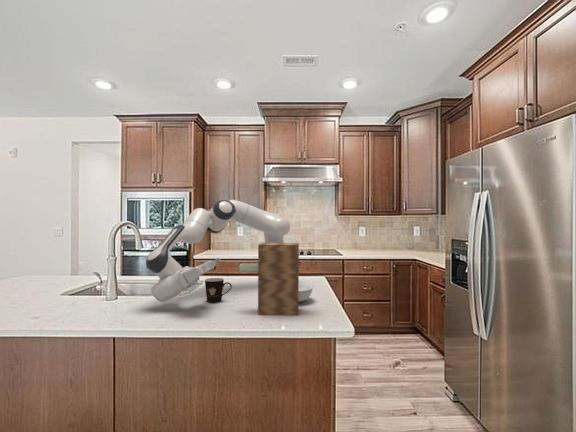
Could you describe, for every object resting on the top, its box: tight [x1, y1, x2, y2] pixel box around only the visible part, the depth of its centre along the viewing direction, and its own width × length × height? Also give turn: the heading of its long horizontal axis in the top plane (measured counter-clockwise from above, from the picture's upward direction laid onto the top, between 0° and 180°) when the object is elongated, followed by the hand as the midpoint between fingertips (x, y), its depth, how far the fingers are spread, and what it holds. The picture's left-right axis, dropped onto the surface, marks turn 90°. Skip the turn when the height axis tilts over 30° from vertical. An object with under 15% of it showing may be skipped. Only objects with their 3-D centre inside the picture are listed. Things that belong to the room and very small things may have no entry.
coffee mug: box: [204, 277, 233, 304], centre depth 162 cm, size 12×9×10 cm
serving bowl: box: [298, 282, 313, 303], centre depth 165 cm, size 21×21×7 cm
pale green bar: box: [239, 263, 258, 273], centre depth 146 cm, size 22×4×3 cm, turn 88°
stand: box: [257, 242, 300, 316], centre depth 146 cm, size 16×10×28 cm, turn 87°
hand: (216, 261), depth 147 cm, fingers open, 8 cm apart
